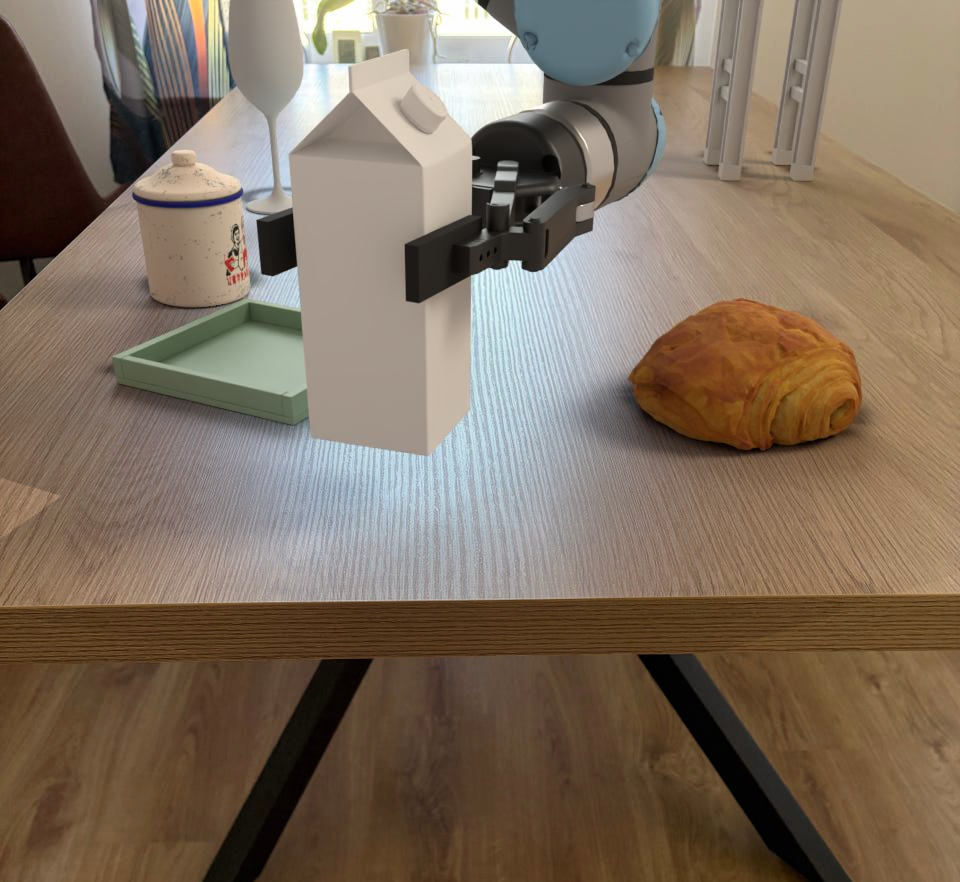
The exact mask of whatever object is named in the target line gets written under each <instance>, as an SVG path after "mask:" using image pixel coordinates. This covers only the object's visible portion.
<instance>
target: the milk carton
mask: <svg viewBox="0 0 960 882" xmlns="http://www.w3.org/2000/svg"><path fill="white" fill-rule="evenodd" d="M347 71H348V72H347V73H348V87H349V88H348V90H349V91H348V93H346V95H345V96H344V97H343V98H342V99H341V100H340V101H339V102H338V103H337V104H336V105H335V106H334V107H333V108H332V109H331V110H330V111H329V112H328V113H327V114H326V116H325V117H324V118H322V119H321V120H320V121H319V123H317V125H315V127H313V128H312V130H311V131H310V132H309V133H308V134H307V135H305V137H304V138H302V140H301V141H300V142H299V143H298V144H297V145H296V146H294V148H293V149H292V150H291V151H290V152H289V153H288V154H287V155H288V167H289V177H290V190H291V191H290V192H291V197H292V205H293V218H294V231H295V244H296V256H297V267H296V268H297V280H298V281H297V282H298V294H299V305H300V306H299V308H301V320H302V333H303V346H304V359H305V372H306V384H307V397H308V410H309V417H308V421H309V433H310V434H309V435H310V438H311V439H316V440H323V441H328V442H335V443H342V444H346V445H352V446H360V447H366V448H372V449H378V450H384V451H392V452H398V453H403V454H404V453H405V454H410V455H417V456H423V457H429V456H430V455H431V454H432V453H433V452H434V451H435V450H436V449H437V448H438V447H439V445H440V444H441V443H443V441H445V439H446V438H447V436H448V435H450V434H451V432H452V431H453V430H454V429H455V428H456V426H458V424H459V423H461V421H462V420H463V419H464V418H465V416H466V415H467V414H468V413H469V412H470V410H471V359H472V358H471V354H472V353H471V352H472V351H471V349H472V348H471V347H472V346H471V345H472V344H471V343H472V341H471V339H472V338H471V337H472V336H471V335H472V334H471V333H472V275H471V276H470V277H468V278H466V279H464V280H462V281H460V282H458V283H456V284H455V285H453V286H451V287H449V288H447V289H445V290H443V291H442V292H440V293H438V294H436V295H434V296H432V297H430V298H429V299H427V300H425V301H423V302H421V303H413V302H408V301H406V292H405V245H404V244H406V243H408V242H410V241H412V240H415V239H417V238H419V237H421V236H424V235H426V234H428V233H430V232H432V231H435V230H437V229H439V228H441V227H444V226H446V225H448V224H450V223H452V222H455V221H457V220H459V219H461V218H464V217H466V216H468V215H472V141H471V138H472V137H470V135H469V134H468V133H467V132H466V131H465V130H464V129H463V128H462V126H461V125H460V124H459V123H458V122H457V121H456V120H455V118H453V117H452V116H451V115H450V114H449V111H448V108H447V106H446V105H445V103H444V101H443V100H442V99H441V98H440V96H438V94H436V93H435V92H434V91H433V90H432V89H431V88H429V87H428V86H427V85H424V84H423V83H420V82H419V81H418V80H417V78H416V77H414V75H413V74H412V73H411V72H410V49H409V48H404V49H400V50H396V51H393V52H390V53H387V54H384V55H380V56H377V57H374V58H370V59H367V60H364V61H361V62H358V63H354V64H351V65H347Z"/></svg>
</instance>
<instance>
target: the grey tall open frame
mask: <svg viewBox="0 0 960 882" xmlns="http://www.w3.org/2000/svg"><path fill="white" fill-rule="evenodd" d="M764 4H765V0H721V5H720V12H719V19H718V20H719V21H718V29H717V37H716V38H717V39H716V47H715V55H714V63H713V73H712V80H711V81H712V82H711V90H710V91H711V92H710V98H709V108H708V115H707V116H708V117H707V125H706V134H705V143H704V144H705V145H704V150H703V151H704V152H703V158H702V162H703V163H704V164H705V165H706V166H718V172H717V178H718V179H719V180H720V181H728V182H729V181H730V182H731V181H732V182H733V181H735V182H736V181H741V176H742V168H743V162H744V161H743V160H744V154H745V145H746V137H747V130H748V124H749V116H750V107H751V100H752V95H753V94H752V93H753V85H754V78H755V70H756V63H757V55H758V48H759V41H760V35H761V34H760V32H761V26H762V20H763V12H764ZM842 6H843V0H794V3H793V9H792V10H793V11H792V17H791V22H790V30H789V35H788V36H789V37H788V44H787V51H786V57H785V64H784V71H783V78H782V84H781V91H780V98H779V104H778V110H777V118H776V126H775V130H774V131H775V132H774V139H773V145H772V146H773V147H772V153H771V157H770V158H771V159H770V162H771V163H772V164H773V165H774V166H790V170H789V178H790V179H791V180H792V181H793V182H813V178H814V172H815V166H816V160H817V154H818V149H819V142H820V136H821V132H822V125H823V119H824V112H825V106H826V101H827V95H828V89H829V83H830V76H831V71H832V65H833V61H834V60H833V59H834V54H835V47H836V41H837V36H838V29H839V24H840V17H841V11H842Z"/></svg>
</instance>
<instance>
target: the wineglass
mask: <svg viewBox="0 0 960 882" xmlns="http://www.w3.org/2000/svg"><path fill="white" fill-rule="evenodd" d="M298 22H299V21H298V17H297V12H296V8H295V4H294V0H229V5H228V27H227V28H228V31H227V32H228V60H229V68H230V73H231V77H232V79H233V81H234V83H235V85H236V88H237V89H238V90H239V91H240V93H241V94H242V95H243V97H244V98H245V99H246V100H247V101H248V102H249V103H251V104H252V105H253V106H254V107H255V108H256V109H257V110H258V111H259V112H261V113H262V114H263V115H264V118H265V119H266V121H267V125H268V131H269V143H270V154H271V165H272V177H273V188H272V191H271V193H270V195H268V196H267V197H263V198H262V197H261V198H257V199H253V200H251V201H248V202H247V203H246V205H245V206H246V210H247V211H250V212H252V213H254V214H261V215H272V214H275V213H277V212H280V211H283V210H286V209H289V208H292V207H293V205H292V196H290V195H287V194H286V192H285V190H284V188H283V186H282V182H281V173H280V172H281V171H280V160H279V148H278V137H277V120H278V117H279V116H280V115H279V114H280V113H282V111H283V110H284V109H285V108H286V107H287V106H288V104H289V103H290V102H291V101H292V100H293V99H294V97H295V96H296V94H297V93H298V91H299V89H300V87H301V85H302V83H303V77H304V67H305V66H304V65H305V64H304V63H305V62H304V52H303V45H302V39H301V33H300V32H301V31H300V28H299V27H300V26H299V23H298Z"/></svg>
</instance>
